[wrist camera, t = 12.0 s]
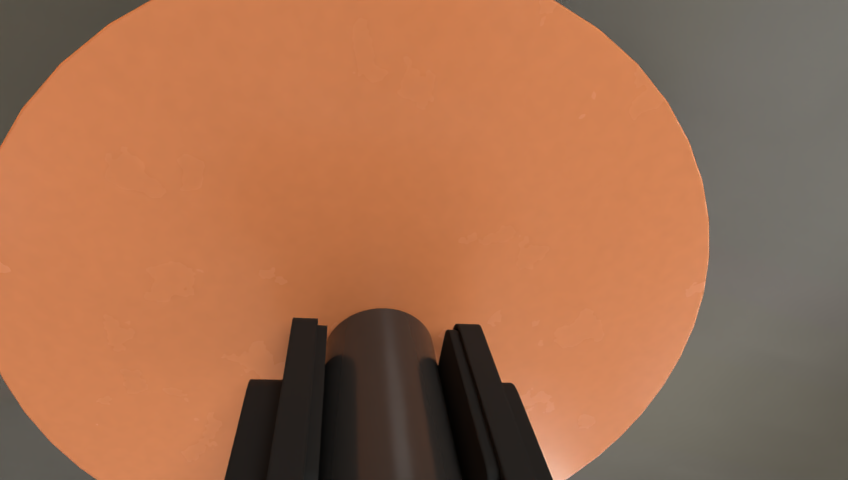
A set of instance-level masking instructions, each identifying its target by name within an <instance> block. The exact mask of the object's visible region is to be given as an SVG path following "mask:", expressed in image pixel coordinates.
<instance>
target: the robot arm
mask: <svg viewBox="0 0 848 480" xmlns="http://www.w3.org/2000/svg"><path fill="white" fill-rule="evenodd" d="M327 326H328V325H318V318H293V319H292V325H291V331H290V337H289V343H288V349H287V355H286V362H285V368H284V374H283V380H275V379H250V380H249V382H248V386H247V389H246V393H245V397H244V401H243V405H242V409H241V414H240V418H239V422H238V426H237V430H236V434H235V438H234V442H233V446H232V450H231V454H230V458H229V463H228V467H227V471H226V475H225V479H224V480H318V474H319V458H320V441H321V425H322V408H323V392H324V376H325V359H326V343H327ZM438 369H439V374H440V378H441V383H442V387H443V392H444V396H445V401H446V405H447V410H448V414H449V419H450V423H451V427H452V432H453V436H454V441H455V445H456V450H457V454H458V459H459V463H460V468H461V472H462V477H463V480H553V478H552V476H551V473H550V471H549V468H548V466H547V463H546V461H545V458H544V456H543V453H542V451H541V448H540V446H539V443H538V441H537V438H536V436H535V433H534V431H533V428H532V426H531V423H530V421H529V418H528V416H527V413H526V411H525V408H524V406H523V403H522V400H521V398H520V395H519V393H518V391H517V389H516V387H515V385H514V384H513V383H502V382H501V379H500V376H499V374H498V371H497V368H496V365H495V363H494V360H493V357H492V354H491V352H490V349H489V346H488V344H487V341H486V338H485V335H484V333H483V330H482V328H481V326H480V325H479V324H455V325H454V328H453V330H446V332H445V335H444V340H443V345H442V349H441V354H440V358H439V363H438Z"/></svg>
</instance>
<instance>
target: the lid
mask: <svg viewBox="0 0 848 480" xmlns="http://www.w3.org/2000/svg"><path fill="white" fill-rule="evenodd" d="M708 261H709V217H708V211H707V205H706V199H705V193H704V187H703V181H702V178H701V175H700V172H699V169H698V166H697V163H696V160H695V157H694V155H693V152H692V149H691V146H690V143H689V140H688V139H687V137H686V135H685V133H684V131H683V129H682V128H681V126H680V124H679V122H678V120H677V118H676V117H675V115H674V113H673V111H672V109H671V107H670V106H669V104H668V102H667V100H666V99H665V98H664V97H663V95H662V94H661V93H660V92H659V90H658V89H657V88H656V87H655V85H654V84H653V83H652V81H651V80H650V79H649V78H648V76H647V75H646V74H645V73H644V71H643V70H642V69H641V68H640V66H639V65H638V64H637V63H636V62H635V61H634V60H633V59H632V58H631V57H629V56H628V55H627V54H626V53H625V52H624V51H623V50H622V49H621V48H619V47H618V46H617V45H616V44H615V43H614V42H613V41H612V40H611V39H610V38H608V37H607V36H606V35H605V34H604V33H603V32H602V31H601V30H600V29H598V28H597V27H595V26H594V25H592V24H591V23H589V22H587V21H586V20H584V19H583V18H581V17H580V16H578V15H577V14H575V13H573V12H572V11H570V10H569V9H567V8H566V7H564V6H562V5H561V4H559V3H558V2H556V1H555V0H150V1H148V2H146V3H145V4H143V5H141V6H139V7H138V8H136V9H134V10H132V11H131V12H129V13H127V14H125V15H124V16H122V17H120V18H118V19H116V20H115V21H113V22H111V23H109V24H108V25H107V26H105V27H104V28H103V29H102V30H101V31H99V32H98V33H97V34H96V35H94V36H93V37H92V38H91V39H90V40H88V41H87V42H86V43H85V44H83V45H82V46H81V47H80V48H79V49H77V50H76V51H75V52H74V53H72V54H71V55H70V56H69V57H68V58H66V59H65V60H64V61H63V62H62V63H60V64H59V65H58V67H57V68H56V69H55V70H54V71H53V73H52V74H51V75H50V76H49V77H48V78H47V80H46V81H45V82H44V83H43V84H42V85H41V87H40V88H39V89H38V90H37V91H36V92H35V94H34V95H33V96H32V97H31V98H30V100H29V101H28V102H27V103H26V104H25V105H24V107H23V108H22V109H21V111H20V113H19V114H18V116H17V118H16V120H15V121H14V123H13V125H12V127H11V128H10V130H9V132H8V134H7V135H6V137H5V139H4V141H3V142H2V144H1V146H0V374H1V376H2V378H3V380H4V381H5V383H6V384H7V386H8V387H9V389H10V391H11V392H12V394H13V395H14V397H15V398H16V400H17V401H18V403H19V404H20V406H21V407H22V409H23V411H24V412H25V413H26V414H27V416H28V417H29V418H30V419H31V420H32V421H33V422H34V424H35V425H36V426H37V427H38V428H39V429H40V430H41V432H42V433H43V434H44V435H45V436H46V437H47V438H48V440H49V441H50V442H51V443H52V444H53V445H55V446H56V447H57V448H58V449H59V450H60V451H61V452H62V453H64V454H65V455H66V456H67V457H68V458H69V459H70V460H71V461H73V462H74V463H75V464H76V465H77V466H78V467H79V468H81V469H82V470H84V471H85V472H87V473H88V474H89V475H91V476H92V477H94V478H95V479H97V480H224V479H225V475H226V471H227V467H228V463H229V458H230V454H231V450H232V446H233V442H234V438H235V434H236V430H237V426H238V422H239V418H240V414H241V409H242V405H243V401H244V397H245V393H246V389H247V386H248V382H249V380H250V379H275V380H283V374H284V368H285V362H286V355H287V349H288V343H289V337H290V331H291V325H292V319H293V318H318V325H328V326H327V343H326V359H325V376H324V392H323V408H322V425H321V441H320V458H319V474H318V480H463V477H462V472H461V468H460V463H459V459H458V454H457V450H456V445H455V441H454V436H453V432H452V427H451V423H450V419H449V414H448V410H447V405H446V401H445V396H444V392H443V387H442V383H441V378H440V374H439V369H438V363H439V358H440V354H441V349H442V345H443V340H444V335H445V332H446V330H453V328H454V325H455V324H479V325H480V326H481V328H482V330H483V333H484V335H485V338H486V341H487V344H488V346H489V349H490V352H491V354H492V357H493V360H494V363H495V365H496V368H497V371H498V374H499V376H500V379H501V382H502V383H513V384H514V385H515V387H516V389H517V391H518V393H519V395H520V398H521V400H522V403H523V406H524V408H525V411H526V413H527V416H528V418H529V421H530V423H531V426H532V428H533V431H534V433H535V436H536V438H537V441H538V443H539V446H540V448H541V451H542V453H543V456H544V458H545V461H546V463H547V466H548V468H549V471H550V473H551V476H552V478H553V480H566V479H568V478H569V477H571V476H572V475H573V474H575V473H576V472H577V471H579V470H580V469H582V468H583V467H584V466H586V465H587V464H588V463H590V462H591V461H593V460H594V459H595V458H596V457H598V456H599V455H600V454H601V453H602V452H603V451H604V450H606V449H607V448H608V447H609V446H610V445H611V444H612V443H614V442H615V441H616V440H617V439H618V438H619V437H620V436H621V435H622V434H623V433H624V432H625V431H626V430H627V429H628V428H629V427H630V426H631V425H632V424H633V423H634V421H635V420H636V419H637V418H638V417H639V416H640V415H641V414H642V413H643V412H644V410H645V409H646V408H647V406H648V405H649V404H650V403H651V401H652V400H653V399H654V397H655V396H656V395H657V393H658V392H659V391H660V389H661V388H662V387H663V385H664V384H665V382H666V380H667V379H668V377H669V375H670V374H671V372H672V370H673V368H674V367H675V365H676V363H677V362H678V360H679V358H680V357H681V354H682V352H683V350H684V348H685V345H686V343H687V341H688V339H689V336H690V334H691V332H692V330H693V327H694V324H695V321H696V318H697V314H698V311H699V308H700V304H701V301H702V297H703V294H704V289H705V282H706V275H707V268H708Z"/></svg>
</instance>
